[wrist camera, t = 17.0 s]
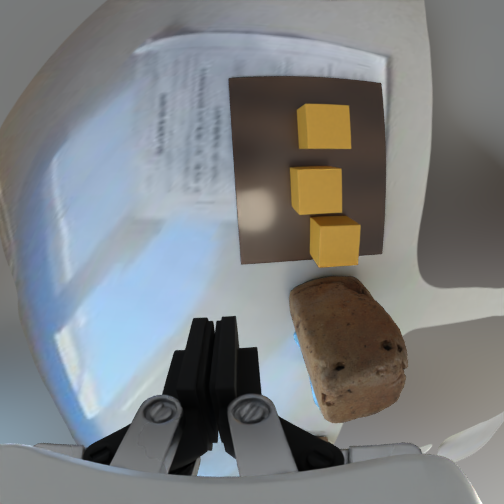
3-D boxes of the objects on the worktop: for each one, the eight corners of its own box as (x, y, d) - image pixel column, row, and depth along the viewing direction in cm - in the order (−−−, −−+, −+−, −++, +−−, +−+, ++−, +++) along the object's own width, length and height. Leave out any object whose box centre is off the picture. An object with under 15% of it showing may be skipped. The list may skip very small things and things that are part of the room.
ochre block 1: (296, 109, 33) (305, 103, 28) (335, 110, 33) (349, 105, 28) (298, 148, 34) (307, 148, 30) (337, 148, 34) (351, 148, 30)
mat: (228, 78, 31) (228, 78, 31) (380, 83, 32) (381, 83, 31) (241, 263, 39) (241, 264, 39) (381, 253, 40) (382, 254, 39)
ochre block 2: (289, 167, 35) (297, 169, 30) (328, 166, 35) (341, 168, 30) (291, 206, 37) (299, 215, 32) (329, 204, 37) (342, 212, 32)
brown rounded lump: (293, 327, 43) (322, 434, 24) (282, 283, 40) (313, 387, 22) (361, 307, 42) (421, 399, 23) (356, 263, 40) (430, 346, 21)
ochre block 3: (310, 216, 37) (320, 226, 32) (346, 215, 37) (360, 225, 33) (309, 253, 39) (318, 267, 34) (344, 251, 39) (358, 265, 34)
